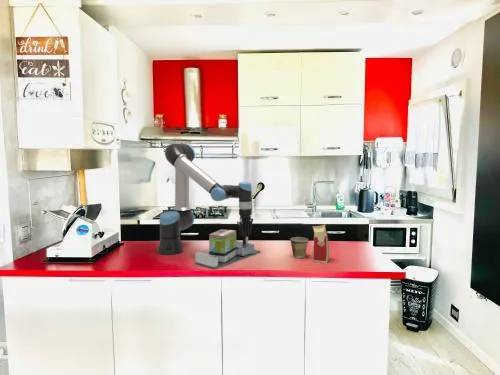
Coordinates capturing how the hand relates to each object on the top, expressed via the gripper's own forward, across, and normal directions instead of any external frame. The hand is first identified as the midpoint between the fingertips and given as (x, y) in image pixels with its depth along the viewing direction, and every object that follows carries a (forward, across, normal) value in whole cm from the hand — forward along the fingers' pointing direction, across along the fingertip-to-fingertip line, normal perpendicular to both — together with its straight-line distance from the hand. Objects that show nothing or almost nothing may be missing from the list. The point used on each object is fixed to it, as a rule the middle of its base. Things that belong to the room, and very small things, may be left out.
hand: (245, 247), depth 209 cm
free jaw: (+1, -6, 0) cm, 6 cm away
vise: (+3, -14, 0) cm, 15 cm away
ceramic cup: (+3, +13, -29) cm, 32 cm away
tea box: (+2, -20, 0) cm, 20 cm away
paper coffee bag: (+3, +13, -42) cm, 44 cm away
